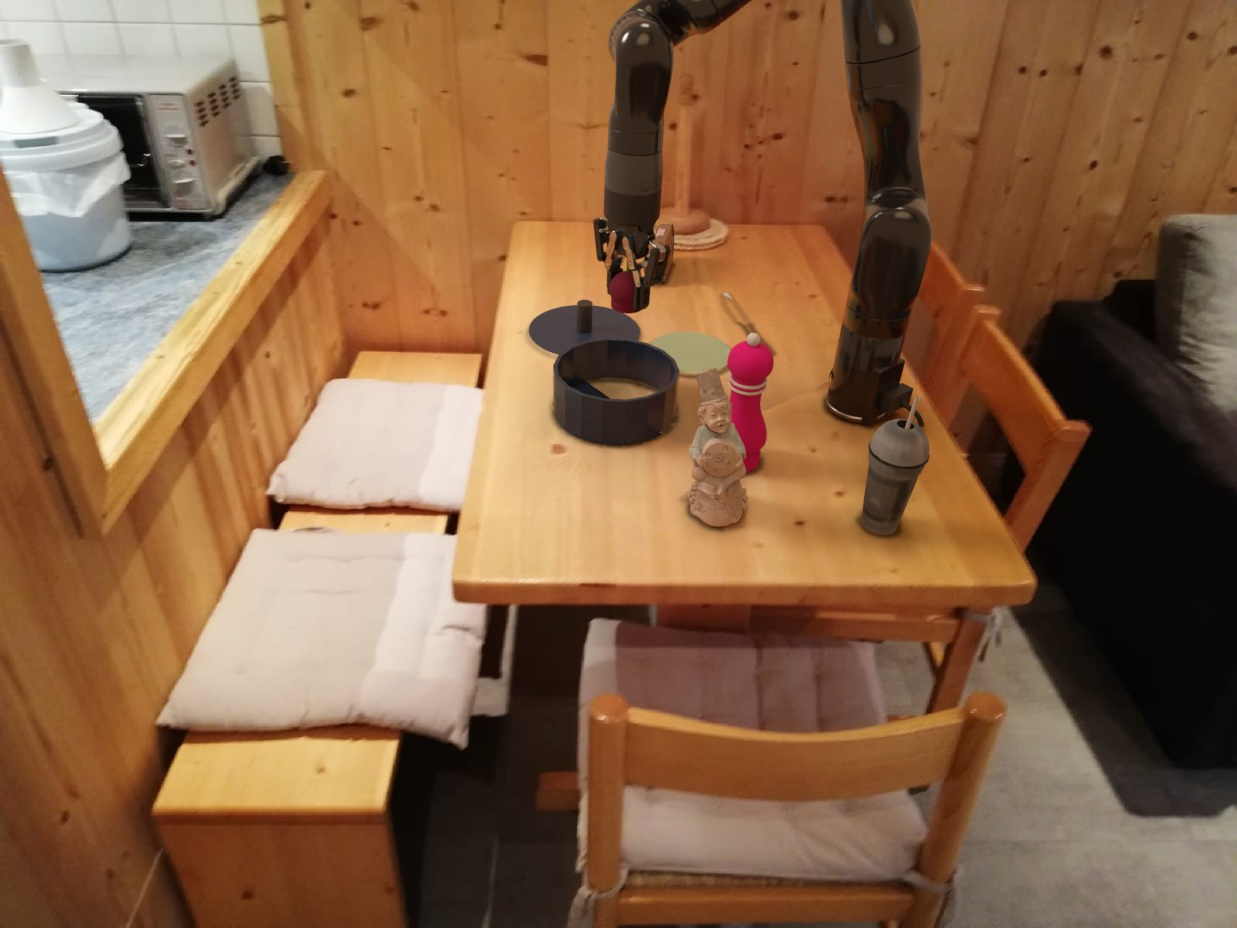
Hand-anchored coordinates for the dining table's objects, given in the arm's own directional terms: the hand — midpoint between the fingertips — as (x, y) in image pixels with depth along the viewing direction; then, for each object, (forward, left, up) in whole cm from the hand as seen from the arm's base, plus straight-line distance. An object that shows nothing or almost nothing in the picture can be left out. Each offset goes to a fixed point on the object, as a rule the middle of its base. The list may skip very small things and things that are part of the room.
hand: (627, 300), depth 128 cm
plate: (+5, -19, -17) cm, 26 cm away
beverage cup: (-42, -9, -18) cm, 46 cm away
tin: (+33, -37, -18) cm, 53 cm away
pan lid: (+21, -9, -17) cm, 28 cm away
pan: (-1, +2, -17) cm, 17 cm away
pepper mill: (-21, -4, -18) cm, 27 cm away
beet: (0, 0, -1) cm, 1 cm away
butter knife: (+8, -35, -17) cm, 40 cm away
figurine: (-27, +6, -18) cm, 33 cm away
